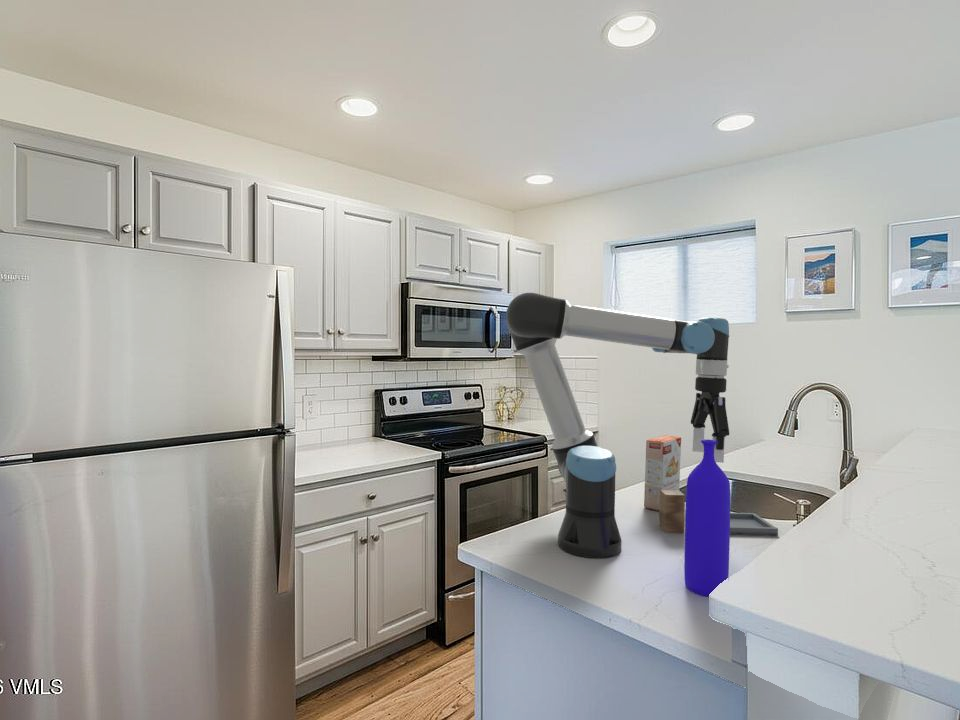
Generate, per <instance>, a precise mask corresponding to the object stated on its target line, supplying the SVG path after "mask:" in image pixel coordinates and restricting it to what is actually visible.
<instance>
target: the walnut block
mask: <svg viewBox="0 0 960 720" xmlns="http://www.w3.org/2000/svg"><path fill="white" fill-rule="evenodd" d="M685 510H686V494H684V493H683V492H682V491H680V489H679V490H660V511H659V518H658V521H659V525H658V526H659V527H660V529H661V530H662V531H663V532H664V533H666V534H667V533H669V534H670V533H673V534H678V533H679V534H685Z"/></svg>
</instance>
